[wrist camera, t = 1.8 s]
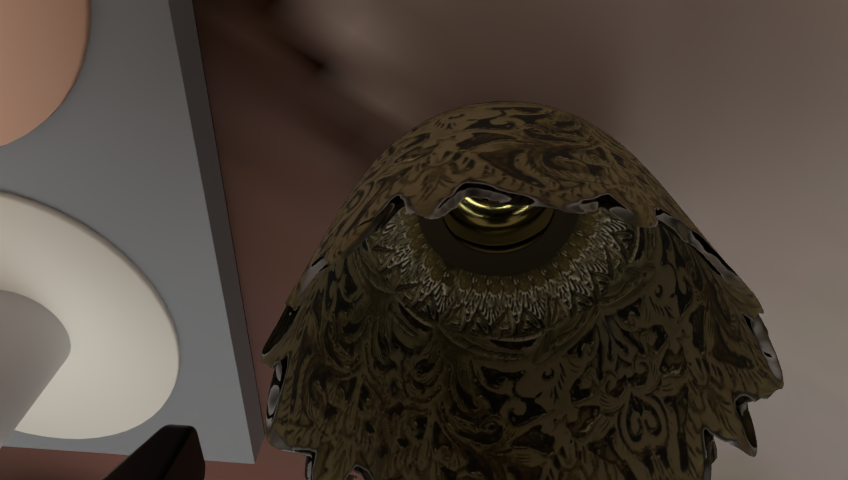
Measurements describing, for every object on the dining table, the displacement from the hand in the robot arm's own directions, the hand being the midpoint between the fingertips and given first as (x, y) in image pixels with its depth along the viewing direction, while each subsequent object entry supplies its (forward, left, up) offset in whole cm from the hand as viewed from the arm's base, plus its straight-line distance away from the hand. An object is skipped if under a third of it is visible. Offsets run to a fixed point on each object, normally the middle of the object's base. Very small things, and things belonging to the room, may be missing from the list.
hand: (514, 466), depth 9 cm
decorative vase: (0, 0, -9) cm, 9 cm away
